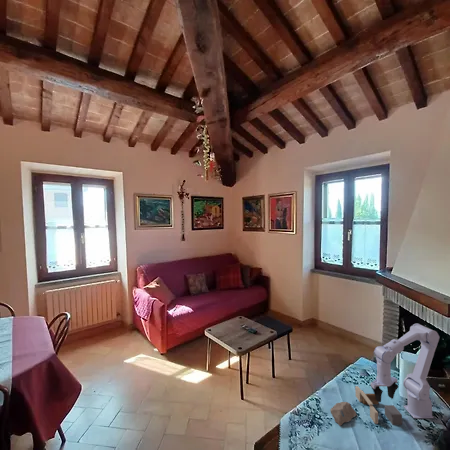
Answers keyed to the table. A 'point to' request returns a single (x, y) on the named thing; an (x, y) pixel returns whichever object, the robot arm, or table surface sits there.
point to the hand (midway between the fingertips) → (384, 399)
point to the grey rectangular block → (393, 415)
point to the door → (371, 398)
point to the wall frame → (372, 410)
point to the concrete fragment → (342, 412)
